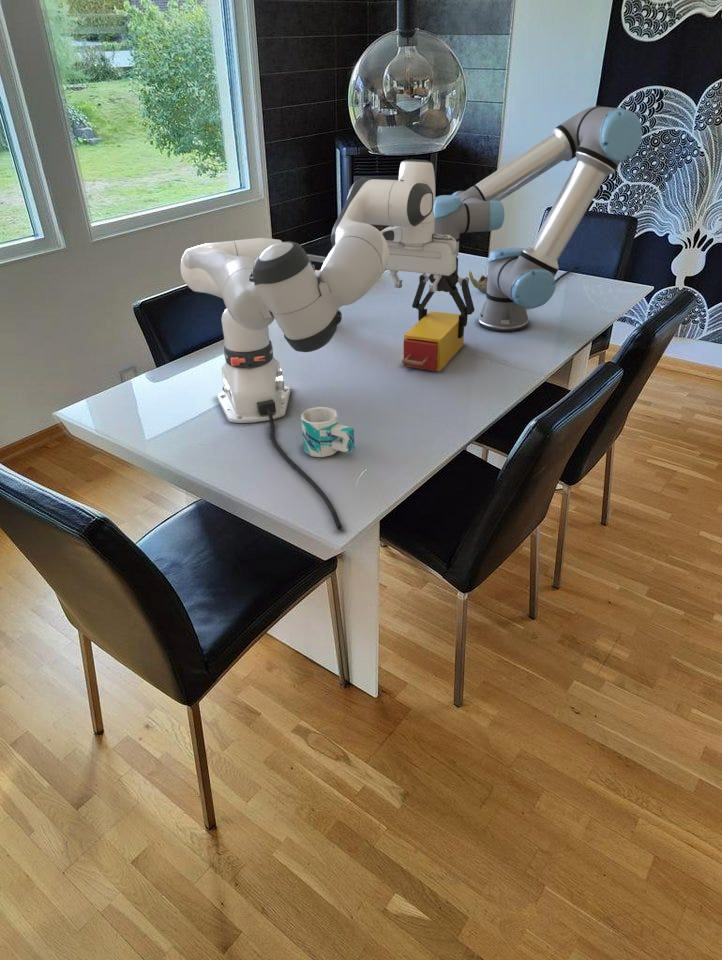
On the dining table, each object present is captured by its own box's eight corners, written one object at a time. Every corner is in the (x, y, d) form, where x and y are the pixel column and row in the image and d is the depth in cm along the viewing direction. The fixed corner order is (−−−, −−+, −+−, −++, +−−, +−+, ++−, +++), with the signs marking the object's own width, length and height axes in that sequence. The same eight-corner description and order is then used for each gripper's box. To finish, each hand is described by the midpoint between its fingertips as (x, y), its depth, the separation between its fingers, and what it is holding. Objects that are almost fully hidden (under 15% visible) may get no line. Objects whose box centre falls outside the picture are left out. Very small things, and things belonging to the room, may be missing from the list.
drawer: (428, 378, 178) (429, 352, 174) (396, 372, 181) (395, 347, 177) (458, 345, 196) (459, 321, 192) (428, 341, 200) (428, 317, 196)
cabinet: (439, 371, 183) (440, 339, 178) (404, 366, 187) (404, 334, 182) (463, 345, 199) (464, 315, 194) (429, 340, 203) (430, 311, 198)
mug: (318, 435, 155) (315, 403, 150) (361, 448, 149) (360, 415, 145) (296, 451, 149) (293, 418, 145) (340, 465, 143) (338, 431, 139)
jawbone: (458, 276, 240) (475, 251, 236) (488, 295, 247) (504, 271, 244) (468, 284, 232) (486, 259, 229) (499, 304, 240) (516, 280, 236)
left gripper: (461, 232, 160) (458, 289, 168) (383, 226, 168) (384, 282, 175) (452, 238, 156) (450, 297, 163) (372, 232, 163) (374, 288, 171)
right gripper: (489, 256, 182) (484, 334, 194) (410, 250, 191) (410, 325, 202) (481, 264, 176) (476, 343, 188) (400, 257, 185) (400, 333, 197)
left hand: (415, 289), depth 169 cm, fingers open, 8 cm apart
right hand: (442, 334), depth 195 cm, fingers closed on cabinet, 11 cm apart
